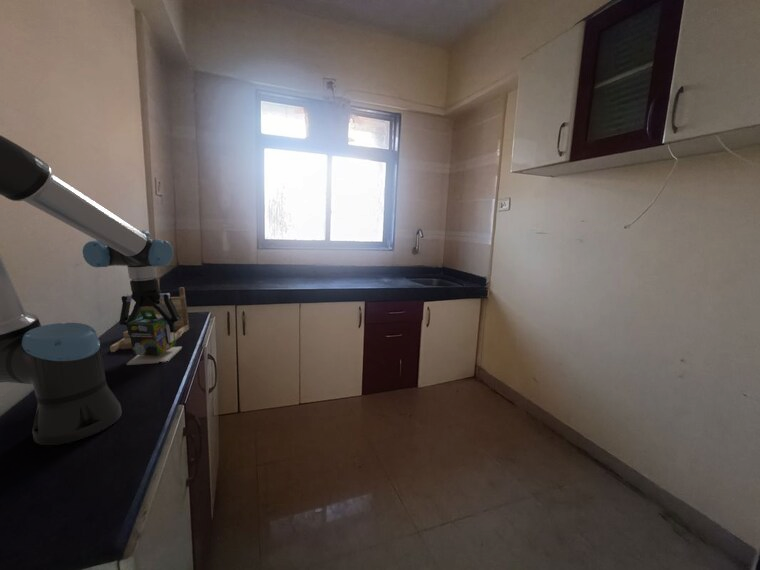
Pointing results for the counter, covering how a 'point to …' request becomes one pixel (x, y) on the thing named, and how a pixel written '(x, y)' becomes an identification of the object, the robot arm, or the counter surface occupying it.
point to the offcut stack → (126, 341)
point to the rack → (181, 308)
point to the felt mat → (154, 357)
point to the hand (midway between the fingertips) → (154, 342)
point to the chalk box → (149, 334)
